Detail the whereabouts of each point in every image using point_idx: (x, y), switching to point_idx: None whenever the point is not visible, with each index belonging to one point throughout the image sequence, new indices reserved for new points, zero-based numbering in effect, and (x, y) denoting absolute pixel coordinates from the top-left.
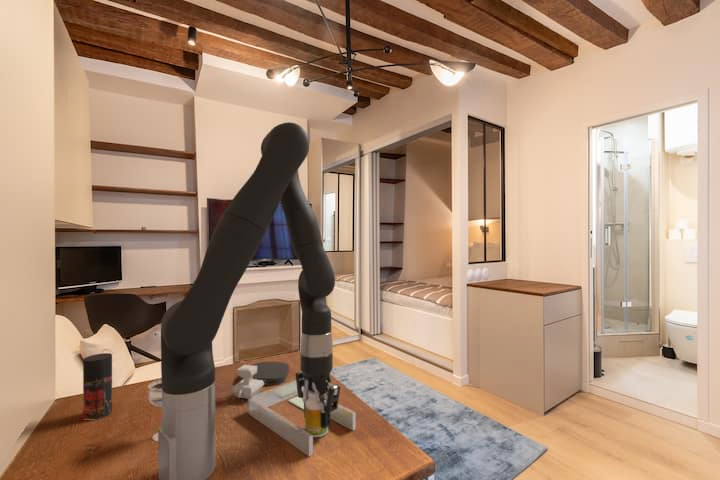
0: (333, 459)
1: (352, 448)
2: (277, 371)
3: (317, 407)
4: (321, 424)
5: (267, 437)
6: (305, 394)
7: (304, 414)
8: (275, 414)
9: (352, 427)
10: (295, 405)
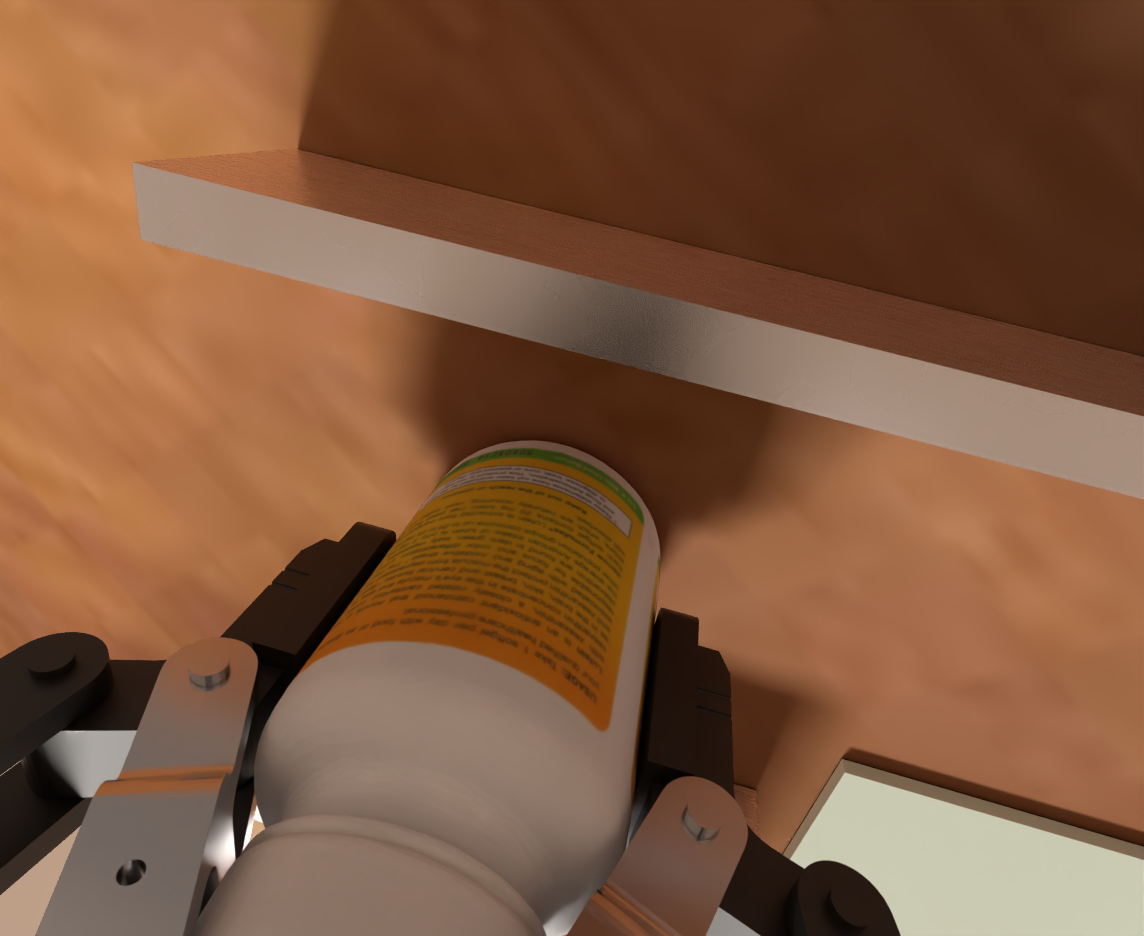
0: (102, 250)
1: (122, 462)
2: None
3: (287, 697)
4: (356, 545)
5: (1050, 178)
6: (585, 931)
7: (697, 644)
8: (1139, 444)
9: None
10: (1068, 825)
